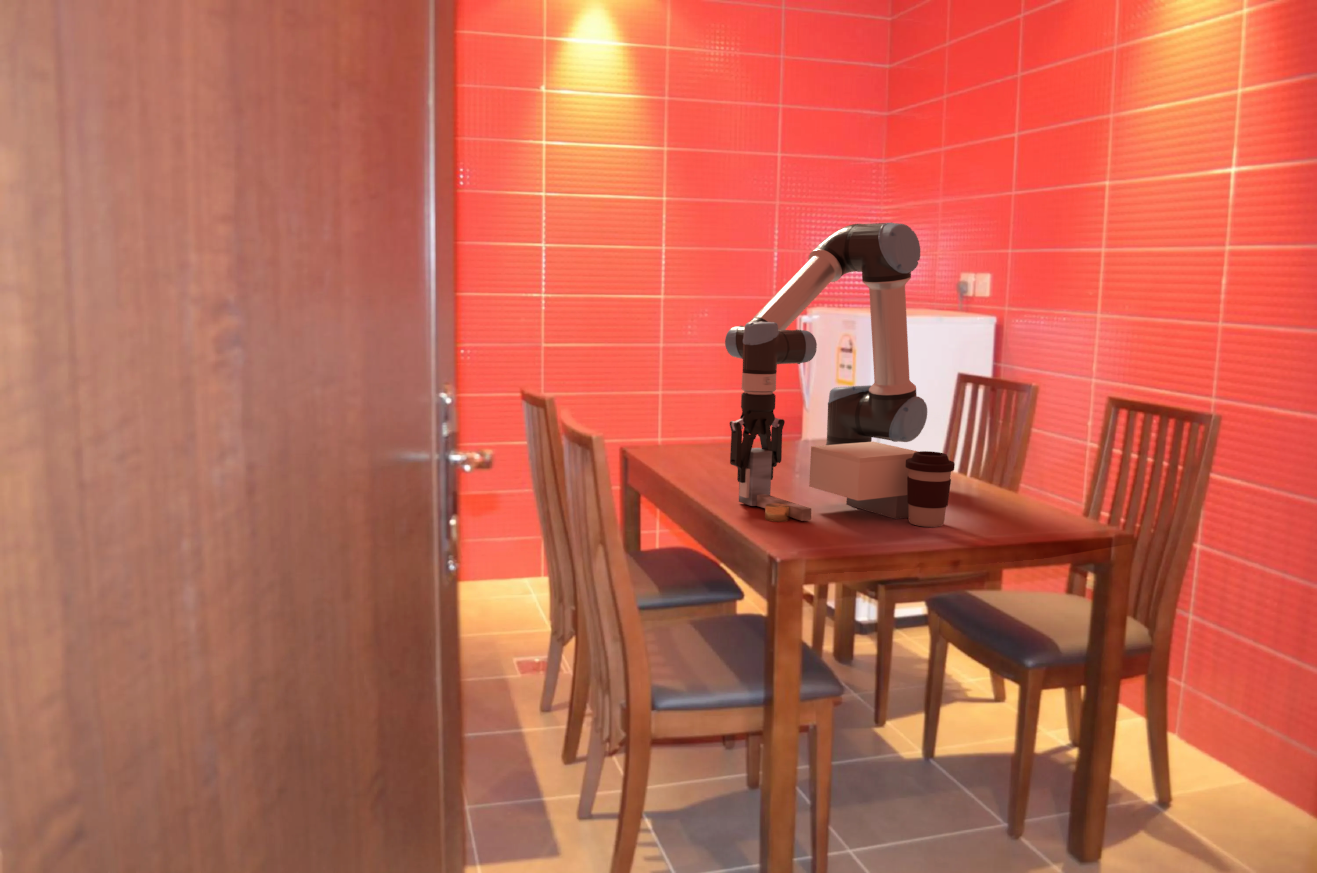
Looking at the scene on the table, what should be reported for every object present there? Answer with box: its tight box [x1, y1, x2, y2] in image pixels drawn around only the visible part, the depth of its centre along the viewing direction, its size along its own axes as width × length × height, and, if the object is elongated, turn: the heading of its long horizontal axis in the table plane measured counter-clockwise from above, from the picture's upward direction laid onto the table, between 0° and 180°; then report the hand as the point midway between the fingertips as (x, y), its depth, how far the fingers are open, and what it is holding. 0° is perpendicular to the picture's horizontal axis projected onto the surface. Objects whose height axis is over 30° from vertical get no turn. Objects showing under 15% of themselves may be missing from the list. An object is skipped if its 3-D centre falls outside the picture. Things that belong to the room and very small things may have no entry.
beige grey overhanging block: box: [808, 441, 920, 520], centre depth 231 cm, size 16×18×14 cm
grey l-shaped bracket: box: [738, 447, 812, 522], centre depth 229 cm, size 21×5×12 cm, turn 31°
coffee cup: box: [906, 450, 956, 528], centre depth 221 cm, size 10×10×15 cm
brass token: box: [764, 503, 790, 523], centre depth 223 cm, size 5×5×3 cm
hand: (754, 495), depth 236 cm, fingers closed on grey l-shaped bracket, 5 cm apart
